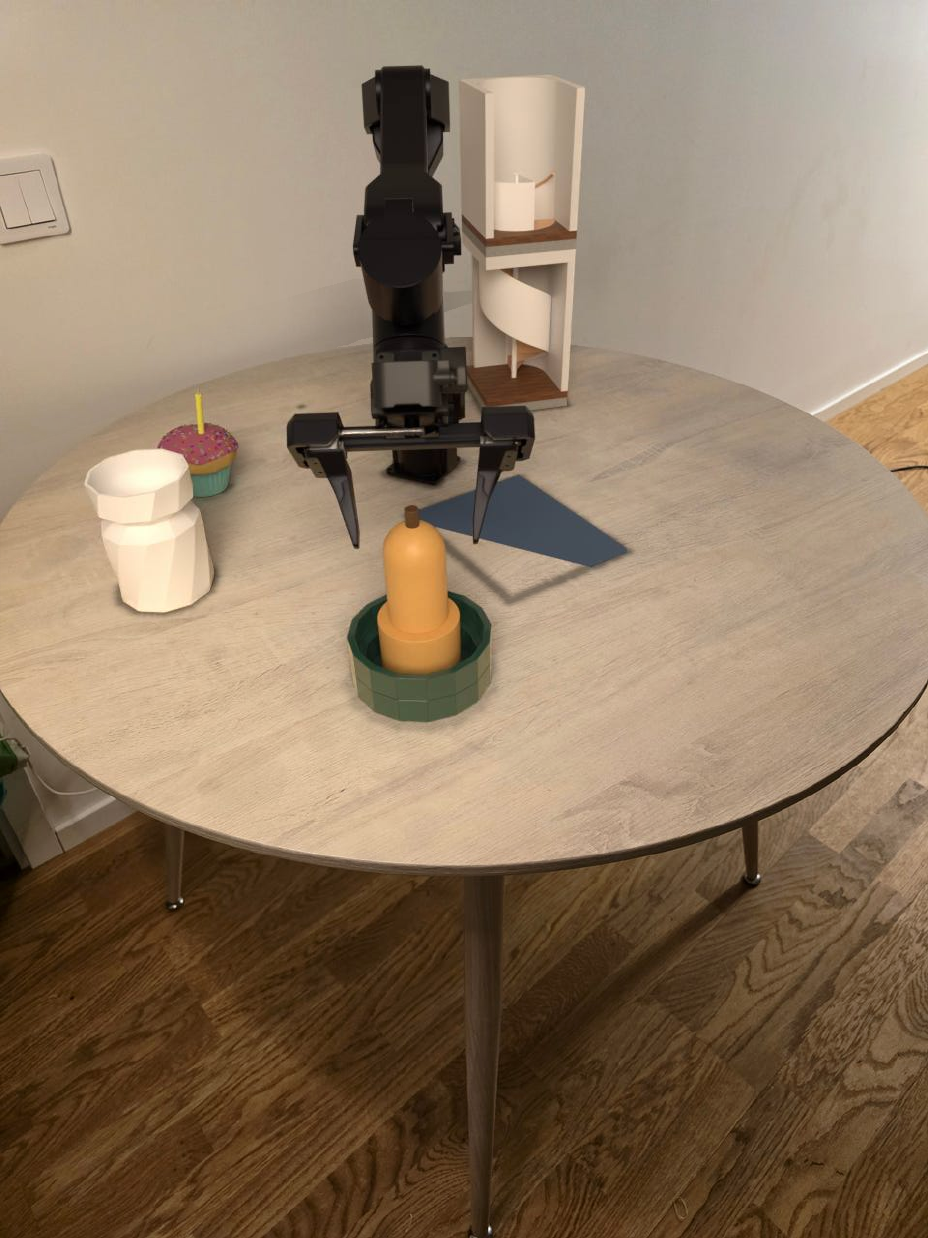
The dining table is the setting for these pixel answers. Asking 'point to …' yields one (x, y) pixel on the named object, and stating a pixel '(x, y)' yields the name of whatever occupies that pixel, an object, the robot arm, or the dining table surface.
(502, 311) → the white tower
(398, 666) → the squash
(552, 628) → the dining table surface
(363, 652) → the pot
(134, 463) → the vase
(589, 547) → the towel
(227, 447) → the cupcake
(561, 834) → the dining table surface
